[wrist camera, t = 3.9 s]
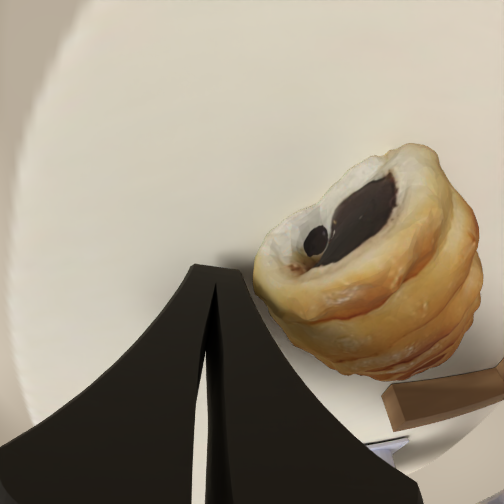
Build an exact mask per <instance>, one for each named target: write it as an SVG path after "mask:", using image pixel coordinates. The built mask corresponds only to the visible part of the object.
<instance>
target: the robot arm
mask: <svg viewBox="0 0 504 504" xmlns="http://www.w3.org/2000/svg"><path fill="white" fill-rule="evenodd" d="M205 352H206V380H207V406H208V443H207V466H206V492H205V504H424V503H423V499H422V496H421V493H420V490H419V487H418V484H417V482H415V481H414V480H412V479H411V478H409V477H408V476H406V475H405V474H403V473H402V472H400V471H399V470H397V469H396V468H395V464H394V461H393V457H392V454H393V453H395V452H396V451H398V450H399V449H400V448H402V447H403V446H404V445H406V444H407V443H408V442H409V439H408V438H403V439H398V440H393V441H388V442H383V443H378V444H372V445H366V446H365V445H364V444H363V443H362V442H361V441H360V440H358V439H357V438H356V437H355V436H354V435H353V434H352V433H351V432H350V431H349V430H348V429H347V428H346V427H344V426H343V425H342V424H341V423H340V422H339V421H338V420H337V419H336V418H335V417H334V416H333V415H332V414H331V413H330V412H329V411H328V410H327V409H326V408H325V407H324V405H323V404H322V403H321V402H320V401H319V400H318V399H317V398H316V396H315V395H314V394H313V393H312V392H311V390H310V389H309V388H308V387H307V386H306V385H305V383H304V382H303V381H302V379H301V378H300V377H299V376H298V374H297V373H296V372H295V370H294V369H293V368H292V366H291V365H290V363H289V362H288V361H287V359H286V358H285V356H284V355H283V353H282V352H281V350H280V349H279V347H278V345H277V344H276V342H275V341H274V339H273V337H272V336H271V334H270V332H269V331H268V329H267V327H266V325H265V323H264V322H263V320H262V318H261V316H260V314H259V312H258V310H257V308H256V306H255V304H254V302H253V300H252V298H251V296H250V294H249V291H248V289H247V287H246V284H245V282H244V279H243V276H242V274H241V272H240V271H239V270H236V269H228V268H221V267H214V266H207V265H200V264H194V265H192V266H190V268H189V271H188V273H187V274H186V276H185V278H184V280H183V281H182V283H181V285H180V286H179V288H178V289H177V291H176V292H175V294H174V295H173V296H172V298H171V299H170V300H169V302H168V303H167V304H166V306H165V307H164V309H163V310H162V311H161V312H160V314H159V315H158V316H157V317H156V319H155V320H154V321H153V322H152V323H151V324H150V326H149V327H148V328H147V329H146V330H145V332H144V333H143V334H142V335H141V336H140V337H139V338H138V340H137V341H136V342H135V343H134V344H133V345H132V346H131V347H130V348H129V349H128V350H127V351H126V352H125V353H124V354H123V355H122V356H121V357H120V358H119V359H118V360H117V361H116V362H115V363H114V364H113V365H112V366H111V367H110V368H109V369H108V370H106V371H105V372H104V373H103V374H102V375H101V376H100V377H99V378H98V379H96V380H95V381H94V382H93V383H92V384H91V385H90V386H88V387H87V388H86V389H85V390H84V391H82V392H81V393H80V394H79V395H77V396H76V397H75V398H73V399H72V400H71V401H69V402H68V403H67V404H65V405H64V406H63V407H61V408H60V409H59V410H57V411H56V412H55V413H53V414H52V415H51V416H49V417H48V418H46V419H45V420H43V421H42V422H40V423H39V424H37V425H36V426H34V427H33V428H31V429H29V430H28V431H26V432H24V433H23V434H21V435H19V436H18V437H16V438H14V439H13V440H11V441H10V442H8V443H6V444H4V445H2V446H1V447H0V504H191V500H192V465H193V443H194V425H195V409H196V401H197V395H198V390H199V384H200V379H201V373H202V368H203V363H204V357H205ZM476 504H504V489H503V490H502V491H500V492H498V493H496V494H495V495H493V496H491V497H488V498H486V499H484V500H483V501H481V502H479V503H476Z"/></svg>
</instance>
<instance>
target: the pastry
mask: <svg viewBox="0 0 504 504" xmlns="http://www.w3.org/2000/svg"><path fill="white" fill-rule="evenodd" d="M478 242H479V227H478V223H477V220H476V217H475V215H474V212H473V210H472V208H471V207H470V206H469V205H468V204H467V202H466V201H465V200H464V199H463V198H462V196H461V195H460V194H459V193H458V192H457V191H456V190H455V189H454V187H453V186H452V185H451V183H450V182H449V180H448V179H447V177H446V175H445V173H444V172H443V170H442V169H441V166H440V164H439V159H438V155H437V154H436V152H435V151H434V150H432V149H431V148H429V147H427V146H425V145H420V144H414V143H408V144H405V145H403V146H401V147H399V148H397V149H395V150H389V151H388V152H387V153H386V154H385V155H384V156H376V155H374V156H370V157H369V158H367V159H365V160H364V161H362V162H360V163H359V164H357V165H355V166H353V167H352V168H351V169H349V170H348V171H347V172H346V173H345V175H344V176H343V177H342V178H341V179H340V180H339V181H338V182H336V183H335V184H334V185H333V186H331V188H330V189H329V190H328V191H327V192H326V193H325V195H324V196H323V197H322V198H321V200H320V201H319V202H318V203H317V204H315V205H313V206H311V207H308V208H306V209H302V210H300V211H298V212H295V213H294V214H292V215H291V216H289V217H288V218H286V219H285V220H283V221H282V222H281V223H280V224H279V225H278V226H276V227H275V228H273V229H272V230H271V231H270V232H269V233H268V234H267V235H266V237H265V239H264V241H263V243H262V245H261V247H260V249H259V251H258V253H257V255H256V257H255V261H254V271H253V287H254V292H255V295H257V296H258V297H259V298H260V299H262V300H263V301H264V303H265V304H266V305H267V306H268V310H269V313H270V315H271V316H272V317H273V319H274V320H275V321H276V322H277V324H278V325H279V326H280V327H281V328H282V329H283V331H284V332H285V333H286V335H287V337H288V339H289V340H290V341H291V342H292V344H293V345H294V346H296V347H298V348H301V349H303V350H305V351H307V352H309V353H311V354H313V355H314V356H315V357H316V358H317V359H318V360H320V361H322V362H323V363H324V364H325V365H327V366H328V367H329V368H331V369H334V370H337V371H338V372H339V373H340V374H342V375H348V376H349V375H352V374H358V375H361V376H362V375H365V376H369V377H371V378H373V379H375V380H379V381H394V380H405V379H408V378H410V377H411V376H413V375H415V374H418V373H421V372H424V371H425V370H427V369H429V368H432V367H436V366H439V365H441V364H442V363H444V362H445V361H447V360H448V359H449V358H450V357H451V356H452V355H453V353H454V352H455V351H456V349H457V348H458V346H459V344H460V342H461V340H462V337H463V336H464V333H465V332H466V331H467V330H468V329H469V328H470V326H471V325H472V323H473V315H474V312H475V311H476V310H477V309H478V308H479V306H480V302H481V297H480V291H481V288H482V284H483V272H482V265H481V261H480V258H479V256H478V253H477V251H476V250H477V248H478Z"/></svg>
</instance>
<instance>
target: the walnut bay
mask: <svg viewBox="0 0 504 504" xmlns="http://www.w3.org/2000/svg"><path fill="white" fill-rule="evenodd" d="M381 397H382V399H383V402H384V405H385V408H386V411H387V414H388V417H389V420H390V423H391V426H392V429H393V432H396V431H401V430H406V429H410V428H415V427H419V426H423V425H427V424H431V423H435V422H439V421H443V420H446V419H450V418H453V417H456V416H460V415H463V414H466V413H469V412H472V411H475V410H478V409H480V408H483V407H486V406H489V405H491V404H494V403H497V402H499V401H502V400H504V358H503V360H502V361H501V362H500V363H499V364H498V365H497V367H496V368H492V369H487V370H482V371H478V372H473V373H468V374H462V375H457V376H451V377H445V378H438V379H431V380H424V381H416V382H407V383H397V384H391V385H390V386H389V388H388V389H387V390H386V391H385V392H384V393H383V394H382V396H381Z"/></svg>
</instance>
